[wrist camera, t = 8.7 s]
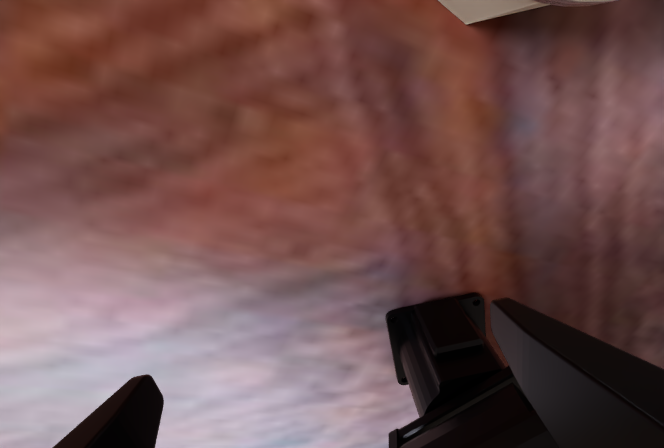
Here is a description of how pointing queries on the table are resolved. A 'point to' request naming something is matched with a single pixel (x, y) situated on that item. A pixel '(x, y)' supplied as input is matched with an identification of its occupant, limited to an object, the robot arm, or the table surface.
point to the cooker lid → (574, 2)
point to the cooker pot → (487, 8)
